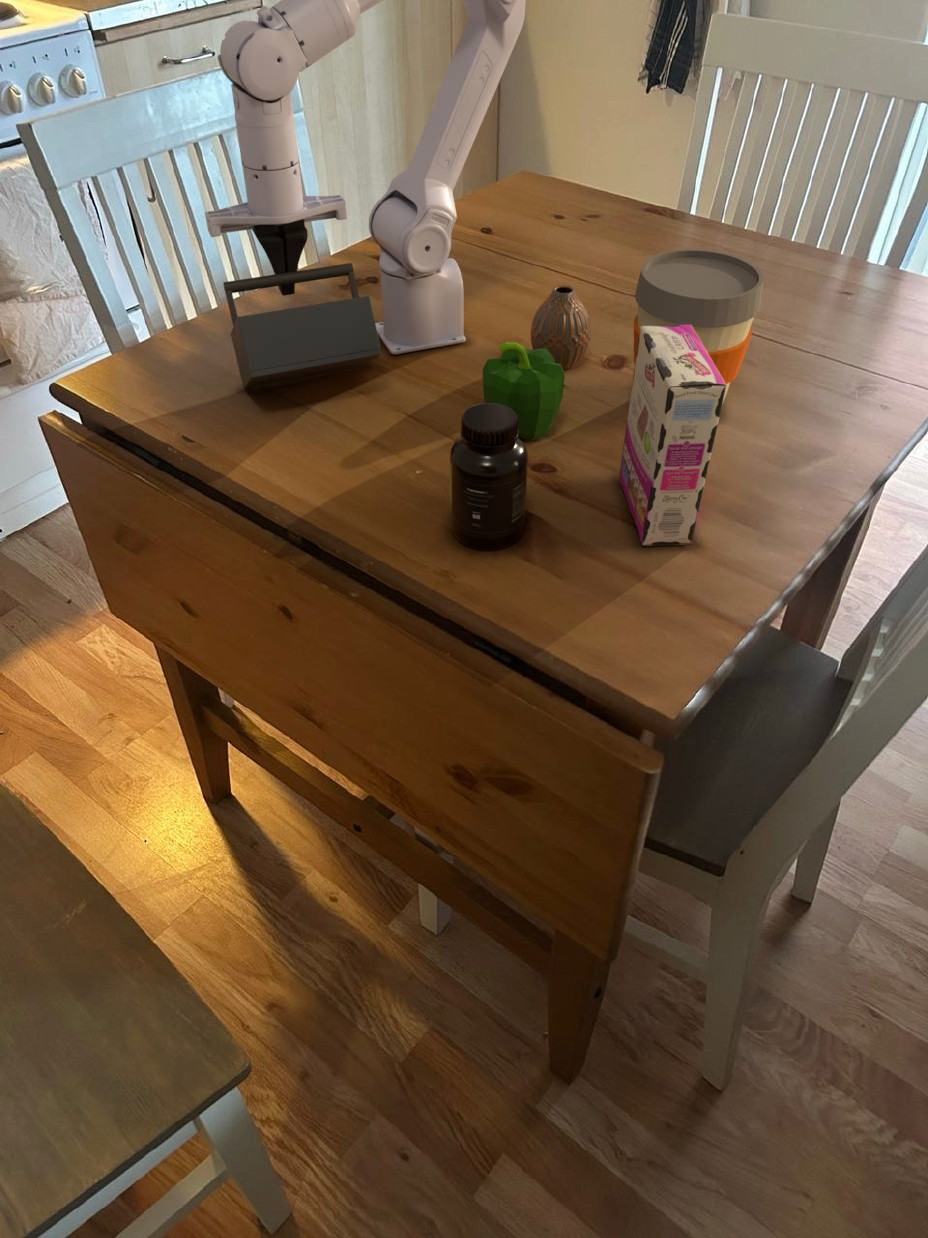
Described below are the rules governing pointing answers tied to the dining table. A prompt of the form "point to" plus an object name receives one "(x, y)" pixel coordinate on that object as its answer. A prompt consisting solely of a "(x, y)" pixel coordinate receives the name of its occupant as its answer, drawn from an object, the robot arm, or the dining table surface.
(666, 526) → the candy bar box
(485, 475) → the supplement bottle
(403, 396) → the dining table surface
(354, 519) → the dining table surface
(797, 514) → the dining table surface
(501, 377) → the bell pepper
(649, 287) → the reusable coffee cup
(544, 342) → the vase
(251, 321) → the grey tool caddy
